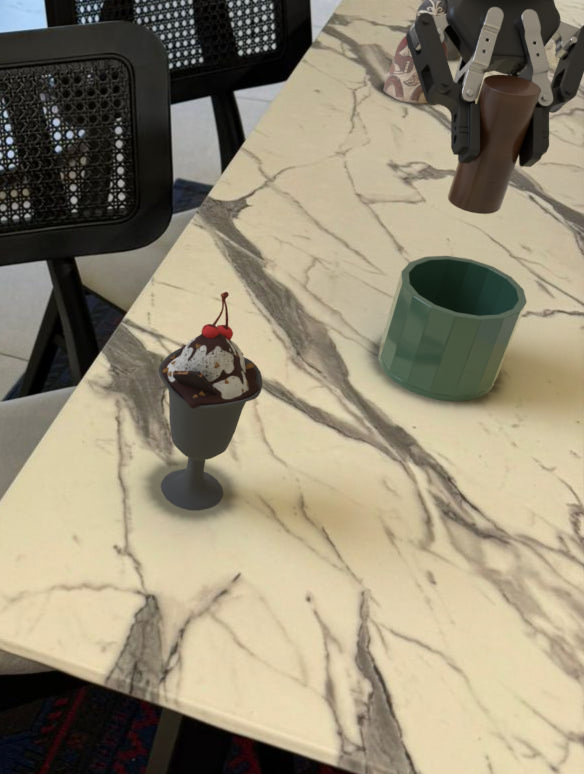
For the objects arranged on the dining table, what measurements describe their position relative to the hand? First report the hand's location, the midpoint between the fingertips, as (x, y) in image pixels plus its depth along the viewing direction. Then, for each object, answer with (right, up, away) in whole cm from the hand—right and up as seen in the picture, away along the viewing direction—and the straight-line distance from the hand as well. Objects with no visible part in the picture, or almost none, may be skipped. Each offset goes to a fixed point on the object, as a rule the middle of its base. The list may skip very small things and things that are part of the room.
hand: (500, 160), depth 74 cm
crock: (-1, -14, +11) cm, 18 cm away
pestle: (0, -2, +4) cm, 5 cm away
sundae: (-23, -24, -3) cm, 33 cm away
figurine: (+11, +27, +60) cm, 66 cm away
